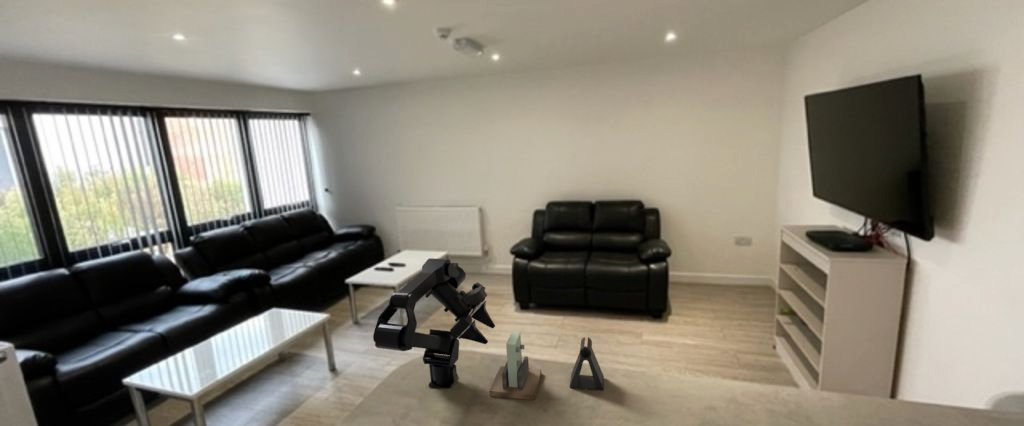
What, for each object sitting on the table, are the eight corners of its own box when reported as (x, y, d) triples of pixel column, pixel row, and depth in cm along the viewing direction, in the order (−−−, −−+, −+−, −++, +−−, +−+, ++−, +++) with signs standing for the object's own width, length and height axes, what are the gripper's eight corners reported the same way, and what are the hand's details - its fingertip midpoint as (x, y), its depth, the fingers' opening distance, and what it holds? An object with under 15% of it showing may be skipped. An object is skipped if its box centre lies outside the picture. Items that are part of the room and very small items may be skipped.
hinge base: (489, 395, 113) (488, 375, 112) (501, 370, 124) (499, 351, 123) (534, 400, 110) (533, 379, 109) (541, 373, 122) (540, 354, 120)
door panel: (508, 386, 114) (506, 344, 112) (514, 372, 121) (511, 331, 118) (521, 387, 113) (518, 344, 111) (526, 372, 120) (523, 332, 117)
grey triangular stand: (603, 377, 118) (603, 338, 116) (603, 390, 112) (602, 349, 110) (571, 375, 120) (570, 336, 118) (569, 388, 114) (568, 347, 112)
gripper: (457, 291, 109) (502, 332, 109) (476, 267, 127) (514, 302, 127) (431, 319, 112) (475, 359, 112) (453, 291, 130) (490, 326, 130)
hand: (490, 334), depth 120 cm, fingers open, 9 cm apart
